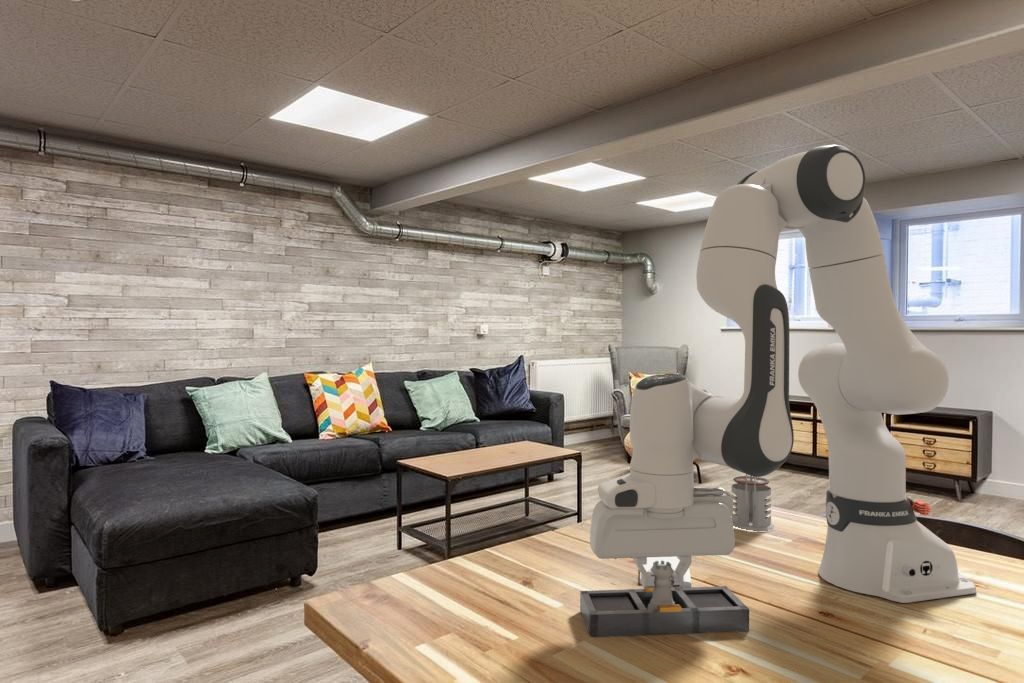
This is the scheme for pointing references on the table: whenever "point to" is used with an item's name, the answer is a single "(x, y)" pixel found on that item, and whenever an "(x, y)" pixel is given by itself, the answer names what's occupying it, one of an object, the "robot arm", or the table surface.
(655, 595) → the rook chess piece
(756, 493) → the french press
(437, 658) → the table surface
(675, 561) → the external hard drive
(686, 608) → the rack
